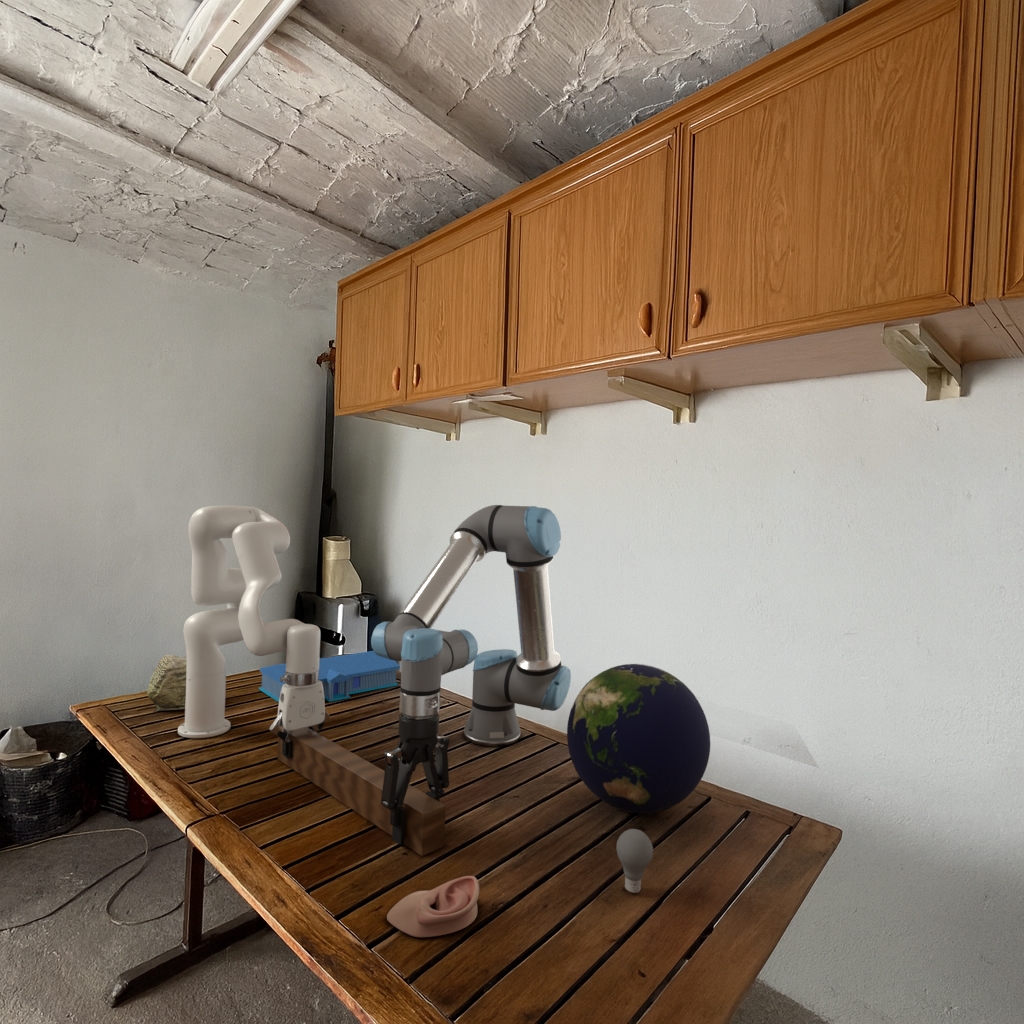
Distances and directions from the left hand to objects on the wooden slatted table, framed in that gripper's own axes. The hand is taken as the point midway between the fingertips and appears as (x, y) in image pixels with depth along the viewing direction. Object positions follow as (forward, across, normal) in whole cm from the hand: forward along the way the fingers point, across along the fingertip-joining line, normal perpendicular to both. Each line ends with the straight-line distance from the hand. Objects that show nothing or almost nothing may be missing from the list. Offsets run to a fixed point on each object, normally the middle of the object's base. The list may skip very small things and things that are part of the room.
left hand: (299, 753), depth 150 cm
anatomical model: (+2, -11, -64) cm, 65 cm away
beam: (+2, 0, -22) cm, 22 cm away
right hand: (+2, 0, -44) cm, 44 cm away
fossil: (+2, -6, +57) cm, 58 cm away
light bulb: (+2, +17, -82) cm, 83 cm away
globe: (+2, +43, -65) cm, 78 cm away
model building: (+2, +36, +46) cm, 59 cm away
